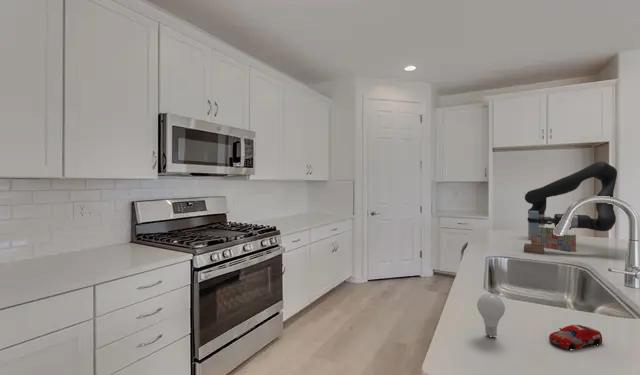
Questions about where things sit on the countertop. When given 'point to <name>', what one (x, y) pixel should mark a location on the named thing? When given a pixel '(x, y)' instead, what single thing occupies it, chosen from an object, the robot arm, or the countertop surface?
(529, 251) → the base block
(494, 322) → the lightbulb
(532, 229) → the pillar block
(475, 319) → the countertop surface
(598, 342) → the race car
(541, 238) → the stack of blocks
